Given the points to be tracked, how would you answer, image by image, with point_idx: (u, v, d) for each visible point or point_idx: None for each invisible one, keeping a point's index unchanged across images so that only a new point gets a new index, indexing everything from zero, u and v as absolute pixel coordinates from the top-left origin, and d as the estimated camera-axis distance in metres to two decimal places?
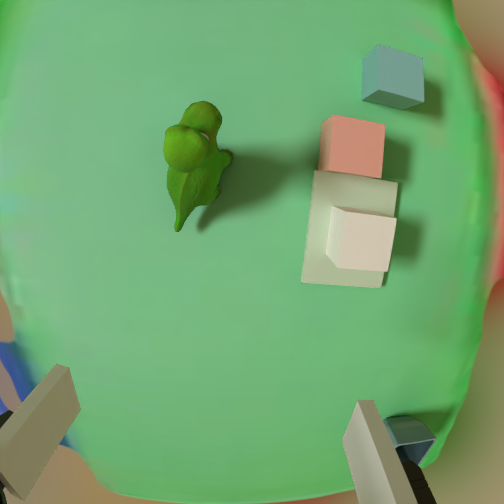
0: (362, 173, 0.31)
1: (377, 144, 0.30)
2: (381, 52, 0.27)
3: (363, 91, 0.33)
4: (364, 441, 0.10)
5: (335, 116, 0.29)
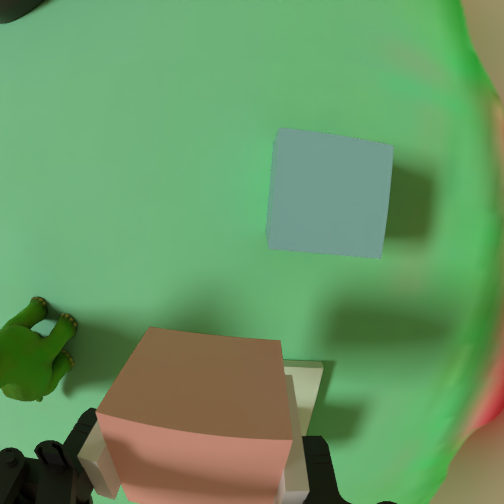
0: None
1: (258, 481, 0.08)
2: (285, 149, 0.14)
3: (267, 215, 0.20)
4: None
5: (103, 417, 0.08)
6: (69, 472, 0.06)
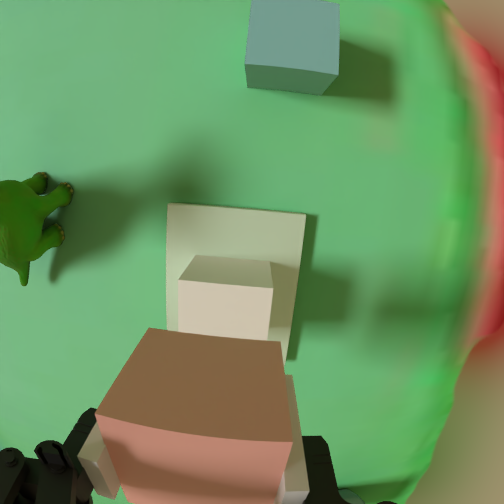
0: None
1: (258, 482, 0.08)
2: (256, 4, 0.16)
3: None
4: None
5: (103, 419, 0.08)
6: (69, 472, 0.06)
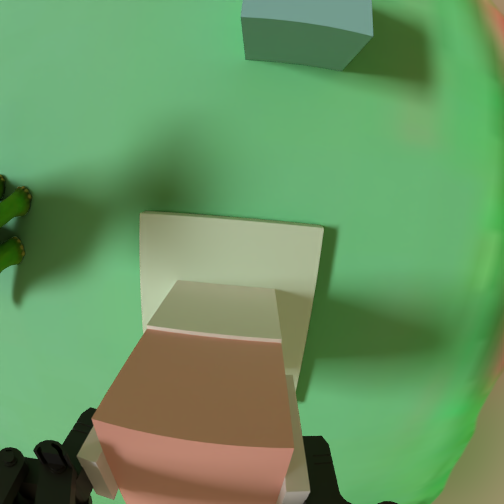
0: None
1: (258, 487, 0.08)
2: None
3: None
4: None
5: (100, 424, 0.07)
6: (68, 472, 0.06)
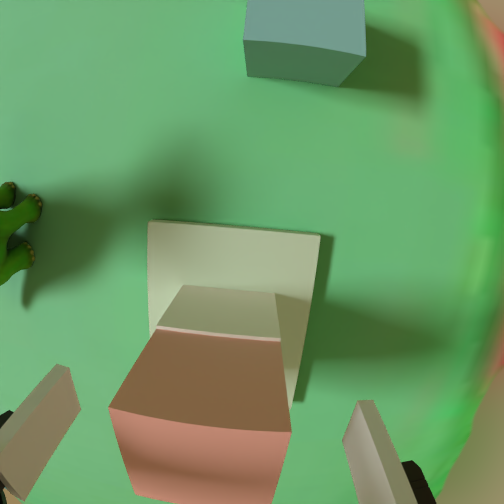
0: None
1: (259, 472, 0.09)
2: None
3: None
4: (365, 442, 0.10)
5: (116, 412, 0.09)
6: None
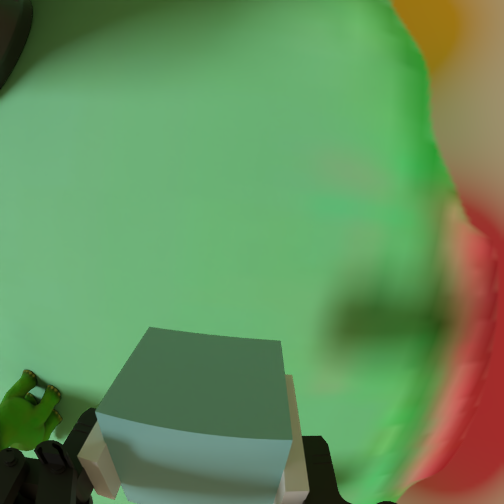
0: None
1: None
2: (111, 436, 0.08)
3: None
4: None
5: None
6: (69, 472, 0.06)
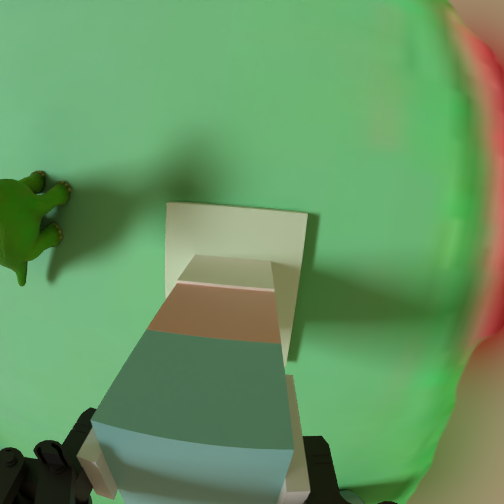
0: None
1: None
2: (108, 444, 0.08)
3: None
4: None
5: None
6: (68, 472, 0.06)
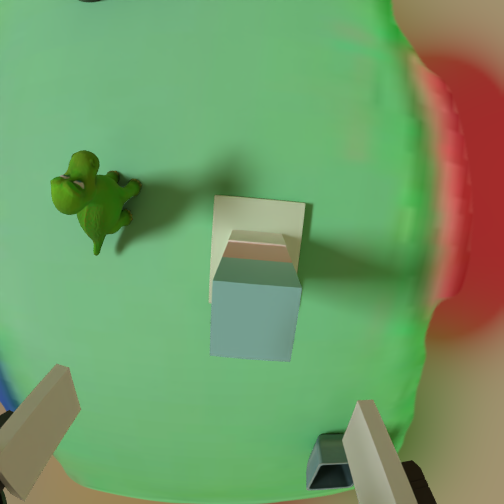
0: None
1: None
2: (217, 295, 0.21)
3: None
4: (364, 441, 0.10)
5: None
6: None
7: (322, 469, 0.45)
